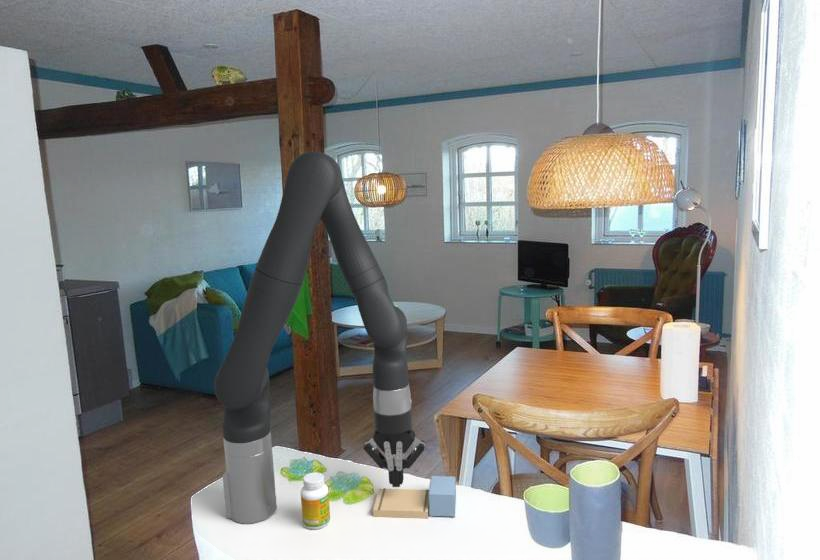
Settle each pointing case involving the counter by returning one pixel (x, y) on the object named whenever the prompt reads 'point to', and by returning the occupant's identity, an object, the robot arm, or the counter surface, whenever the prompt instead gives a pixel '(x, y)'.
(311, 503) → the supplement bottle
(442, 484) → the stub
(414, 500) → the board
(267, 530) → the counter surface
